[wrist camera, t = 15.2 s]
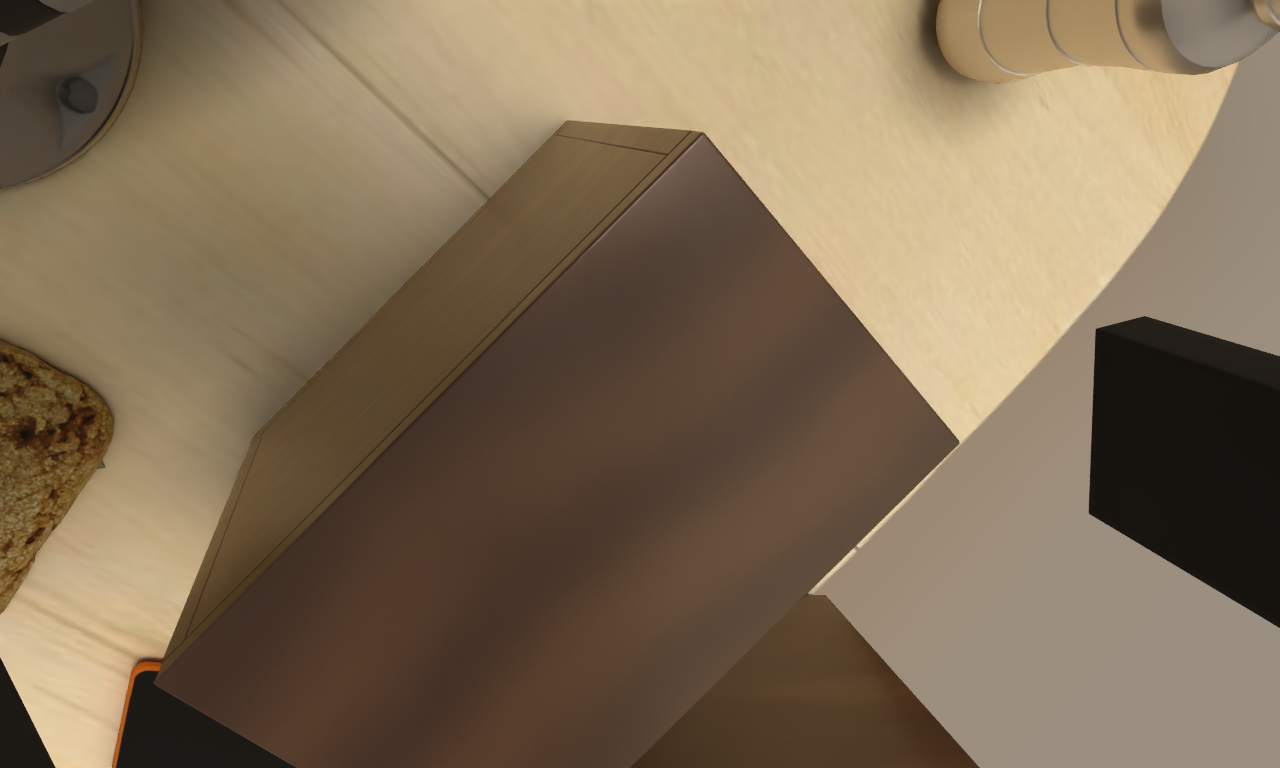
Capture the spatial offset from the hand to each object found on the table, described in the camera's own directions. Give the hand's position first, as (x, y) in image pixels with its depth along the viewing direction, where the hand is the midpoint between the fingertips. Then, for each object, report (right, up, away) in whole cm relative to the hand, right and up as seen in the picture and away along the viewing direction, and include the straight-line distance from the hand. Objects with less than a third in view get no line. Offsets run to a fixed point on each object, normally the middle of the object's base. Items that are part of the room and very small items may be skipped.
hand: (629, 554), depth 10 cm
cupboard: (-7, +3, +35) cm, 36 cm away
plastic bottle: (+18, +21, +37) cm, 46 cm away
